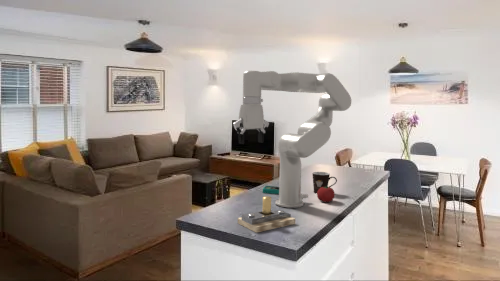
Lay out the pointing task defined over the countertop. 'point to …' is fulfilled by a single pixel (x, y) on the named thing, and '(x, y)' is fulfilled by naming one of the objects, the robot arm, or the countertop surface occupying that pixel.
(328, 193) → the tomato
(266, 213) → the brass pin
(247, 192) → the countertop surface
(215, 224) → the countertop surface
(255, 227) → the board
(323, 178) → the coffee mug
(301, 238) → the countertop surface
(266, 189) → the digital multimeter
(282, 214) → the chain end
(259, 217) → the plate
